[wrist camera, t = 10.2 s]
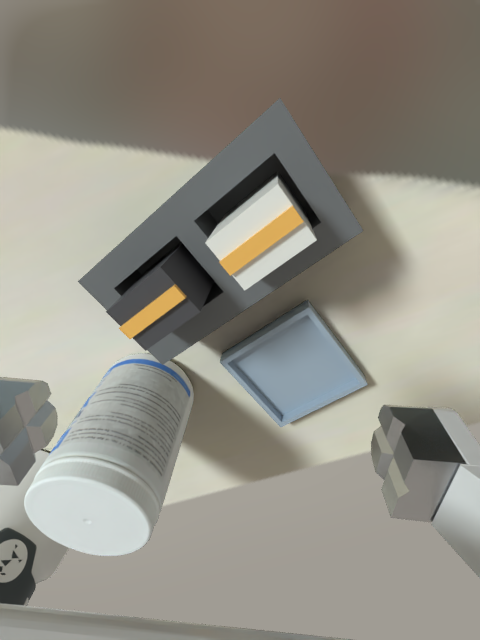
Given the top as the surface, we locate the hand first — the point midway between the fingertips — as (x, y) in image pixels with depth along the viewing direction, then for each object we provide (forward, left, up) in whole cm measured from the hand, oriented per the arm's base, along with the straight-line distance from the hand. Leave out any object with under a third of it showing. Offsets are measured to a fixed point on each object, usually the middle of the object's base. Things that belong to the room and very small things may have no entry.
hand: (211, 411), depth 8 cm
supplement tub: (-19, -7, -22) cm, 30 cm away
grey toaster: (-3, +1, -22) cm, 22 cm away
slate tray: (-5, -13, -22) cm, 26 cm away
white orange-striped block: (+1, 0, -20) cm, 20 cm away
